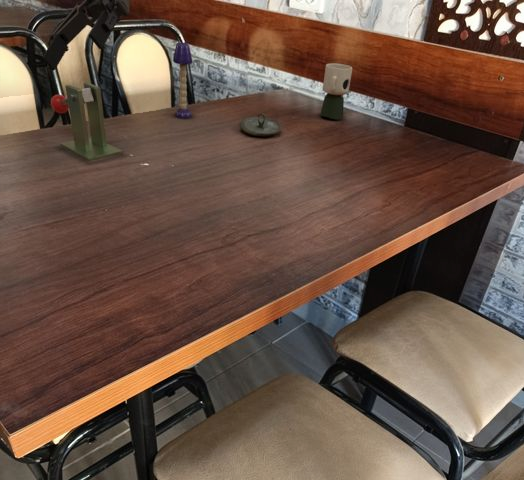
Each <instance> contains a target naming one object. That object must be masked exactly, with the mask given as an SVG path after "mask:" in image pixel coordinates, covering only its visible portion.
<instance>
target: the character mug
mask: <svg viewBox="0 0 524 480" xmlns="http://www.w3.org/2000/svg"><path fill="white" fill-rule="evenodd" d="M352 75H353V67H352V66H351V65H348V64H343V63H333V62H332V63H326V64H325V70H324V75H323V76H324V77H323V84H322V91H323V92H324V93H326V94H325V95H324V97H323V102H322V105H321V109H320V110H321V111H320V114H319V115H320V116H321V117H325V118H328V120H341V119H343V117H344V104H345V103H344V102H345V99H344V95H348V94H349V91H350V87H351V80H352Z"/></svg>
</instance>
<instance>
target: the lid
mask: <svg viewBox="0 0 524 480" xmlns="http://www.w3.org/2000/svg"><path fill="white" fill-rule="evenodd" d="M238 126H239V128H240V129H241V130H242V131H243V132H244V133H246V134H248V135H250V136H255V137H269V136H274V135H276V134H278V133H280V132H281V130H282V129H283V125H282V124H281V123H280V121H278V120H276V119H273V118H271V117H266V115H265V113H262V112H260V113H258V115H257V116H251V117H246V118H244V119H242V120H240V121H239V125H238Z"/></svg>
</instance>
